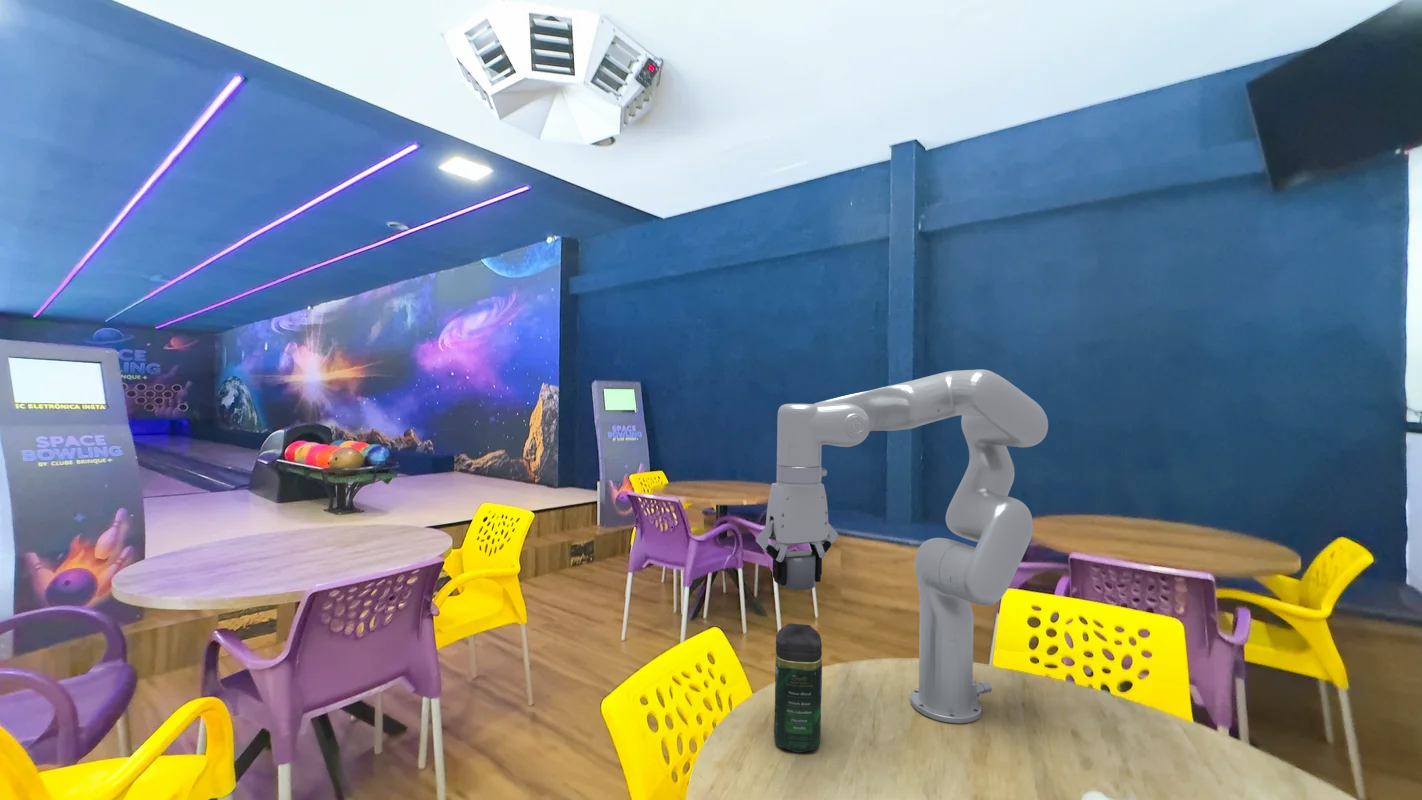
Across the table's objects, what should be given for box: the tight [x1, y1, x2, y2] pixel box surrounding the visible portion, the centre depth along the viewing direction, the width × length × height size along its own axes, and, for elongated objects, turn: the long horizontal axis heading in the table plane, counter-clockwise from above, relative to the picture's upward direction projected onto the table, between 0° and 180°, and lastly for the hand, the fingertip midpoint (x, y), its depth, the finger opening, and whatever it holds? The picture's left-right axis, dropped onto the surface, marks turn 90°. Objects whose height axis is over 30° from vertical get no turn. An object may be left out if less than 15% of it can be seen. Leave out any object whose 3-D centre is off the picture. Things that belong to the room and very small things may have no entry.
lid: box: [781, 549, 816, 591], centre depth 104 cm, size 6×6×6 cm
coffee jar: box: [773, 623, 823, 753], centre depth 104 cm, size 10×8×19 cm
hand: (797, 580), depth 104 cm, fingers closed on lid, 5 cm apart
